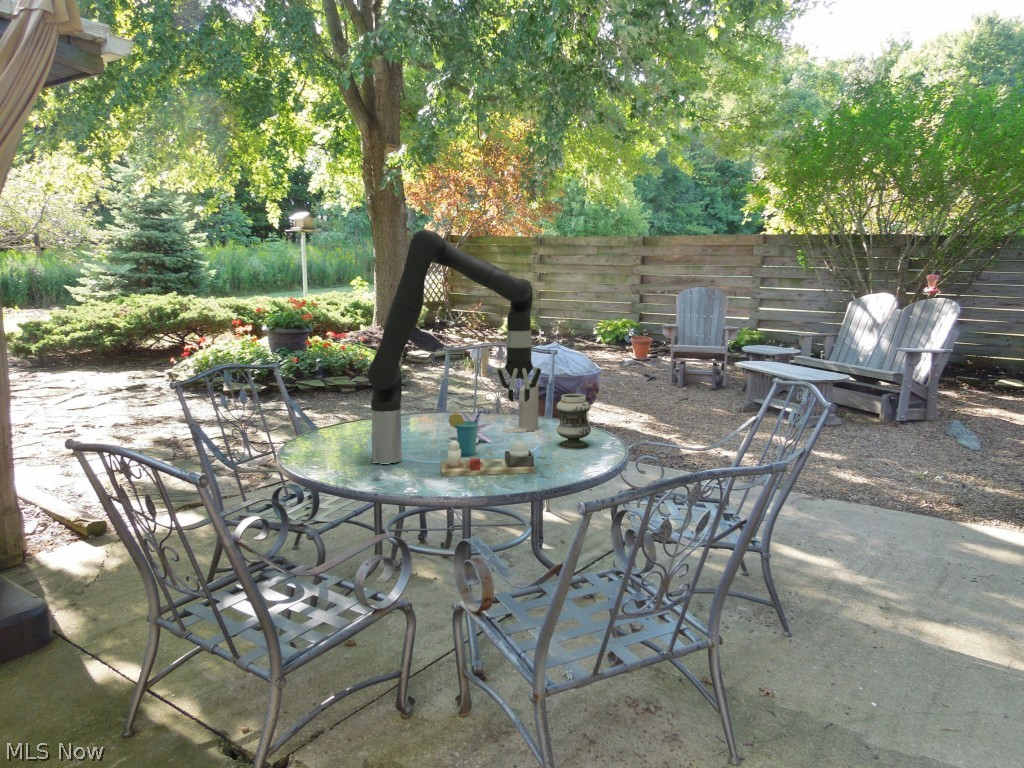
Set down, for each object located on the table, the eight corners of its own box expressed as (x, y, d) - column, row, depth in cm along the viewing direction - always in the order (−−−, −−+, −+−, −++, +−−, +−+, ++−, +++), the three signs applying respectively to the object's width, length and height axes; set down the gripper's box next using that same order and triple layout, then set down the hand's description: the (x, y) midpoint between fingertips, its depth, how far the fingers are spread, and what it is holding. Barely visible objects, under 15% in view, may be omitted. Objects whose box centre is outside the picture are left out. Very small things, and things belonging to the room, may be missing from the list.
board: (442, 476, 198) (441, 461, 197) (441, 465, 209) (440, 451, 209) (534, 473, 201) (534, 458, 200) (528, 462, 213) (528, 448, 212)
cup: (489, 450, 228) (488, 407, 225) (492, 456, 220) (491, 412, 218) (448, 452, 226) (447, 408, 223) (450, 458, 218) (449, 413, 216)
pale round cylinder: (510, 461, 203) (510, 442, 202) (508, 456, 209) (508, 438, 208) (530, 460, 203) (530, 442, 203) (527, 455, 209) (527, 437, 208)
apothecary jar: (561, 440, 242) (561, 391, 239) (593, 442, 238) (594, 393, 235) (552, 448, 231) (552, 397, 228) (586, 450, 227) (586, 399, 224)
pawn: (448, 467, 202) (447, 442, 200) (447, 463, 205) (447, 439, 204) (461, 467, 202) (461, 442, 201) (460, 463, 206) (460, 439, 205)
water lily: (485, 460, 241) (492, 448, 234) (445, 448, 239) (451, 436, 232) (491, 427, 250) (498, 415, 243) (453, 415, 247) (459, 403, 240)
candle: (501, 429, 259) (500, 378, 256) (534, 427, 263) (534, 377, 260) (506, 433, 253) (506, 381, 249) (540, 431, 257) (541, 379, 253)
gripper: (496, 347, 196) (497, 404, 199) (544, 346, 198) (543, 403, 200) (494, 344, 203) (494, 399, 206) (539, 343, 205) (539, 398, 208)
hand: (519, 401), depth 203 cm, fingers open, 3 cm apart
